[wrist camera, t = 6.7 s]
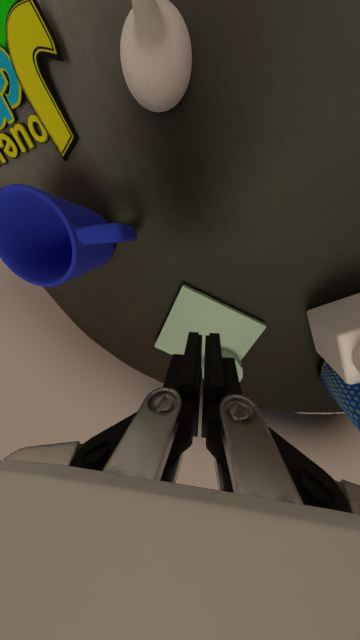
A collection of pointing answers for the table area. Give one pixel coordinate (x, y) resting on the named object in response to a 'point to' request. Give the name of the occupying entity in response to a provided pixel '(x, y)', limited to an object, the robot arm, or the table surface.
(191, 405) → the robot arm
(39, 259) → the mug
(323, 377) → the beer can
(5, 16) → the figure
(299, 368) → the table surface
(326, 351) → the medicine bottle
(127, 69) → the garlic bulb
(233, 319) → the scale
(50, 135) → the logo
